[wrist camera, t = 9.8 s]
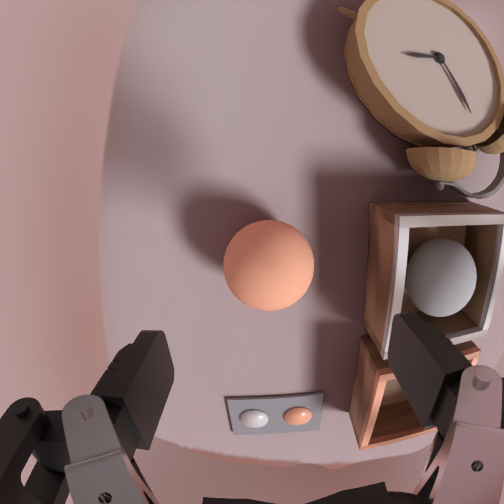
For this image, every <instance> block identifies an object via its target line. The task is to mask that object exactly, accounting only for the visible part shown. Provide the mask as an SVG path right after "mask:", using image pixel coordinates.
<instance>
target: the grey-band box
mask: <svg viewBox="0 0 504 504" xmlns="http://www.w3.org/2000/svg"><path fill="white" fill-rule="evenodd" d="M436 238H447V239H452V240H454V241H457V242H458V243H460V244H461V245H463V246H464V247H465V248H466V249H467V250H468V252H469V253H470V255H471V256H472V258H473V260H474V263H475V267H476V274H477V279H476V286H475V290H474V293H473V295H472V297H471V299H470V300H469V302H468V303H467V304H466V305H465V306H464V307H463V308H462V309H461V310H460V311H458V312H456V313H454V314H452V315H449V316H445V317H435V316H431V315H428V314H426V313H424V312H422V311H421V310H419V309H418V308H417V307H416V306H415V305H414V303H413V302H412V301H411V299H410V297H409V295H408V292H407V289H406V283H405V276H406V268H407V265H408V262H409V260H410V258H411V256H412V255H413V253H414V252H415V251H416V249H417V248H418V247H420V246H421V245H422V244H424V243H425V242H427V241H429V240H432V239H436ZM503 265H504V212H501V211H498V210H495V209H492V208H489V207H486V206H483V205H480V204H476V203H473V202H459V201H404V202H369V243H368V265H367V281H366V294H365V305H364V315H363V324H364V326H365V327H366V329H367V331H368V333H369V334H370V336H371V338H372V340H373V342H374V344H375V345H376V347H377V349H378V351H379V353H380V355H381V356H382V358H383V360H385V359H388V346H389V340H390V334H391V328H392V321H393V317H394V315H395V314H398V313H405V312H411V311H415V312H417V313H418V314H419V315H420V316H421V318H422V319H423V320H424V321H425V322H426V323H427V322H429V323H431V324H433V325H434V326H436V327H438V328H440V329H441V330H442V331H443V333H444V334H445V335H446V336H447V338H449V339H450V340H451V341H452V342H453V345H455V344H459V343H463V342H466V341H470V340H474V339H477V338H481V337H484V336H486V334H487V331H488V328H489V324H490V321H491V317H492V314H493V310H494V306H495V302H496V298H497V294H498V290H499V285H500V281H501V276H502V271H503Z"/></svg>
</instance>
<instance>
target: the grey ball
mask: <svg viewBox="0 0 504 504" xmlns="http://www.w3.org/2000/svg"><path fill="white" fill-rule="evenodd" d="M476 279H477V274H476V267H475V263H474V260H473V258H472V256H471V255H470V253H469V252H468V250H467V249H466V248H465V247H464V246H463V245H461V244H460V243H458V242H457V241H454V240H452V239H447V238H436V239H432V240H429V241H427V242H425V243H424V244H422V245H421V246H420V247H418V248H417V249H416V251H415V252H414V253H413V255H412V256H411V258H410V260H409V262H408V265H407V268H406V276H405V283H406V289H407V292H408V295H409V297H410V299H411V301H412V302H413V303H414V305H415V306H416V307H417V308H418V309H419V310H421V311H422V312H424V313H426V314H428V315H431V316H435V317H445V316H449V315H452V314H454V313H456V312H458V311H460V310H461V309H462V308H463V307H464V306H465V305H466V304H467V303H468V302H469V300H470V299H471V297H472V295H473V293H474V290H475V286H476Z"/></svg>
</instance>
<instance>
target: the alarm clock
mask: <svg viewBox="0 0 504 504" xmlns="http://www.w3.org/2000/svg"><path fill="white" fill-rule="evenodd" d="M337 11H339V12H340V13H342V14H343V15H345V16H347V17H349V18H351V19H353V20H354V21H353V23H352V24H351V26H350V27H349V29H348V33H347V38H346V42H345V47H344V53H345V61H346V68H347V73H348V76H349V78H350V80H351V82H352V84H353V86H354V88H355V91H356V93H357V95H358V97H359V99H360V100H361V101H362V102H363V103H364V105H365V106H366V107H367V108H368V110H369V111H370V112H371V114H372V115H373V116H374V117H375V119H376V120H377V121H378V122H380V123H381V124H382V125H384V126H385V127H386V128H387V129H389V130H390V131H391V132H392V133H394V134H395V135H396V136H397V137H399V138H401V139H403V140H406V141H408V142H410V143H413V144H415V145H417V146H419V147H415V148H408V149H406V154H407V158H408V161H409V163H410V165H411V167H412V168H413V169H414V170H415V171H416V172H417V173H418V174H419V175H421V176H423V177H425V178H428V179H430V180H434V181H432V183H436V189H437V190H440V191H442V190H443V189H444V185H447V186H449V187H450V188H452V189H453V190H454V191H456V192H457V193H458V194H460V195H463V196H465V197H471V198H477V199H482V198H487V197H489V196H491V195H493V194H495V193H496V192H497V191H498V190H499V189H500V188H501V186H502V185H503V183H504V77H503V73H502V68H501V65H500V62H499V60H498V58H497V56H496V54H495V52H494V50H493V48H492V46H491V44H490V42H489V41H488V39H487V38H486V36H485V35H484V34H483V32H482V31H481V30H480V28H479V27H478V26H477V25H476V23H475V22H474V21H473V20H472V19H471V18H470V17H469V16H467V15H466V14H465V13H464V12H463V11H462V10H461V9H459V8H458V7H457V6H456V5H455V4H453V3H451V2H450V1H448V0H365V2H364V3H363V4H362V5H361V7H360V8H359V10H358V12H355V11H353V10H351V9H349V8H345V7H341V6H339V8H338V10H337ZM470 145H472V148H473V150H472V151H470V150H464V149H457V148H450V147H459V146H462V147H467V146H470ZM475 146H476V147H477V148H476V147H475ZM480 150H481V151H482V152H484V153H487V154H499V153H501V154H500V164H499V170H498V172H497V175H496V177H495V179H494V180H493V182H492V183H491V184H490V185H489V186H488V187H487V188H486V189H485V190H483V191H481V192H478V193H473V194H471V193H469V192H467V191H465V190H464V189H463V188H461V187H460V186H458V185H456V184H453V183H447V182H451V181H457V180H460V179H463V178H465V177H467V176H468V175H469V174H470V173H471V172H472V170H473V169H474V166H475V163H476V154H478V153H479V152H480Z"/></svg>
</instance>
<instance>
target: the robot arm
mask: <svg viewBox="0 0 504 504" xmlns="http://www.w3.org/2000/svg"><path fill="white" fill-rule="evenodd" d="M112 361H113V362H111V363H110V365H109V366H108V370H106V371H105V373H104V374H103V375H102V377H101V378H100V380H99V381H98V383H97V385H96V386H95V388H94V389H93V391H92V392H91V394H90V395H81V396H78V397H75V398H73V399H72V400H70V401H69V402H68V403H67V404H66V405H65V406H64V408H63V410H56V411H44V410H43V408H42V407H41V405H40V403H39V402H38V401H37V400H36V399H34V398H22V399H19V400H17V401H15V402H14V403H13V404H11V405H10V406H9V408H8V409H7V410H6V412H5V413H4V415H3V416H2V417H1V419H0V504H65V502H66V500H67V497H68V495H69V492H70V494H71V497H72V500H73V504H160V503H159V501H158V500H157V498H156V496H155V495H154V493H153V491H152V489H151V487H150V486H149V484H148V482H147V480H146V478H145V476H144V475H143V473H142V471H141V469H140V467H139V465H138V463H137V461H136V459H135V457H134V453H135V450H136V448H138V449H144V450H149V449H150V446H151V443H152V440H153V437H154V434H155V431H156V429H157V426H158V423H159V420H160V417H161V415H162V412H163V409H164V406H165V403H166V401H167V398H168V395H169V392H170V390H171V387H172V384H173V381H174V367H173V363H172V359H171V355H170V352H169V348H168V344H167V340H166V336H165V334H164V332H163V331H156V330H142V331H141V332H140V333H139V335H138V336H137V338H136V339H135V341H134V342H133V344H128V345H126V346H125V347H124V348H122V349H121V350H120V351H119V352H118V353H117V354H116V356H115V357H114V359H113V360H112ZM388 362H389V366H390V368H391V370H392V372H393V373H394V375H395V377H396V379H397V381H398V382H399V384H400V386H401V388H402V390H403V392H404V394H405V395H406V397H407V399H408V401H409V403H410V405H411V407H412V409H413V411H414V413H415V415H416V417H417V418H418V420H419V422H420V424H421V426H422V428H423V430H425V429H428V428H431V427H434V426H436V427H437V429H438V431H437V433H436V436H435V438H434V441H433V445H432V447H431V450H430V453H429V456H428V459H427V462H426V464H425V467H424V470H423V472H422V475H421V478H420V479H419V482H418V484H417V485H416V487H415V489H414V491H413V493H412V494H411V493H405V492H393V491H391V492H390V491H389V492H387V489H386V486H385V482H381V483H377V484H372V485H368V486H364V487H359V488H354V489H349V490H343V491H340V492H338V493H335V494H333V495H329V496H327V497H324V498H321V499H318V500H315V501H312V502H309V503H306V504H499V502H500V497H501V493H502V488H503V481H504V378H501V377H500V376H499V374H498V373H497V372H496V371H495V370H493V369H492V368H490V367H487V366H483V365H474V366H473V365H472V364H471V363H470V362H469V360H468V359H467V358H466V357H465V356H464V355H463V354H462V352H461V351H460V350H459V349H458V348H457V347H456V346H455V345H453V342H452V341H451V340H450V339H449V338H447V336H446V335H445V334H444V333H443V331H442V330H441V329H440V328H438V327H436V326H434V325H433V324H431V323H429V322H427V323H426V322H425V321H424V320H423V319H422V318H421V316H420V315H419V314H418V313H417V312H415V311H411V312H405V313H398V314H395V315H394V317H393V321H392V328H391V334H390V340H389V346H388ZM31 454H32V455H33V456H34V457H35V458H36V460H37V462H36V465H35V466H34V468H33V470H32V472H31V474H30V476H29V478H28V480H27V482H26V484H25V486H23V485H22V482H21V472H22V470H23V468H24V466H25V464H26V463H27V461H28V459H29V457H30V455H31ZM202 504H274V503H268V502H261V501H256V500H251V499H226V498H207V497H203V503H202Z"/></svg>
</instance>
